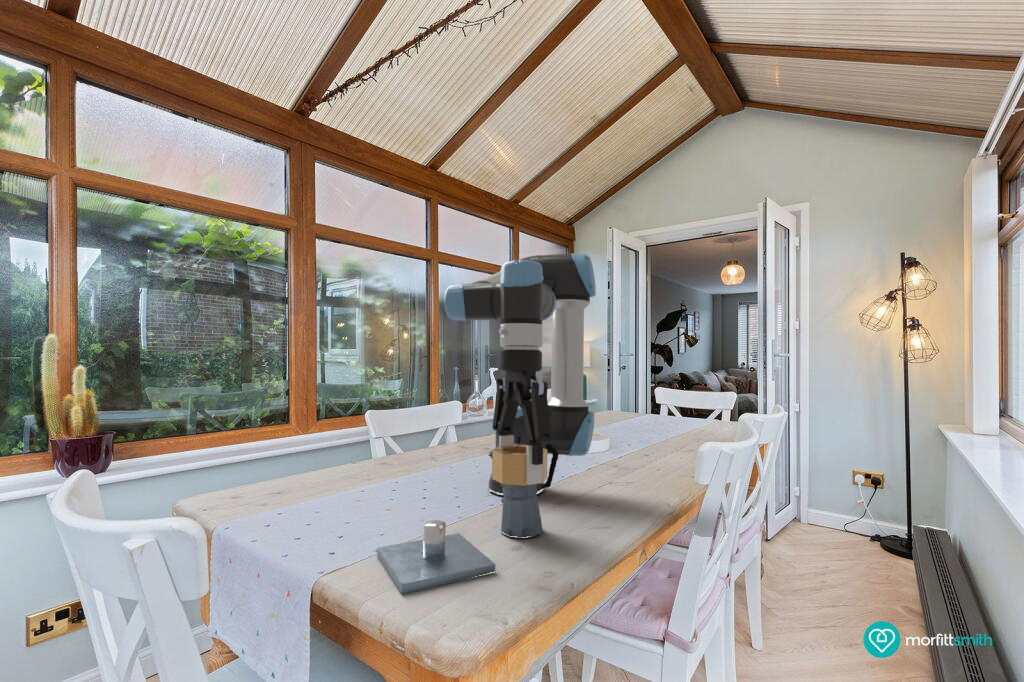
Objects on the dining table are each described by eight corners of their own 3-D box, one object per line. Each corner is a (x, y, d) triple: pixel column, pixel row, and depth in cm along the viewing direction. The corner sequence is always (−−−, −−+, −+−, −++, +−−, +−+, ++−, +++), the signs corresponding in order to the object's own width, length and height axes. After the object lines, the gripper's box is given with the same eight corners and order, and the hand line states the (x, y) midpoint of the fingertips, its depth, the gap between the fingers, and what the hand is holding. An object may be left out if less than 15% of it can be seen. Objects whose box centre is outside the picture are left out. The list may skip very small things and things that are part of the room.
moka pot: (480, 527, 103) (482, 433, 104) (546, 520, 109) (547, 430, 109) (495, 544, 94) (496, 440, 95) (566, 535, 100) (567, 437, 100)
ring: (528, 470, 91) (528, 443, 91) (555, 481, 83) (555, 452, 84) (485, 475, 87) (485, 447, 87) (509, 487, 79) (510, 456, 79)
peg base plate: (458, 541, 96) (459, 505, 96) (495, 573, 82) (495, 531, 82) (377, 555, 88) (377, 517, 88) (401, 594, 74) (402, 547, 74)
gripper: (475, 348, 93) (473, 466, 93) (535, 347, 75) (534, 495, 74) (509, 349, 97) (507, 462, 96) (575, 348, 78) (573, 489, 78)
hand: (519, 476), depth 85 cm, fingers closed on ring, 9 cm apart
